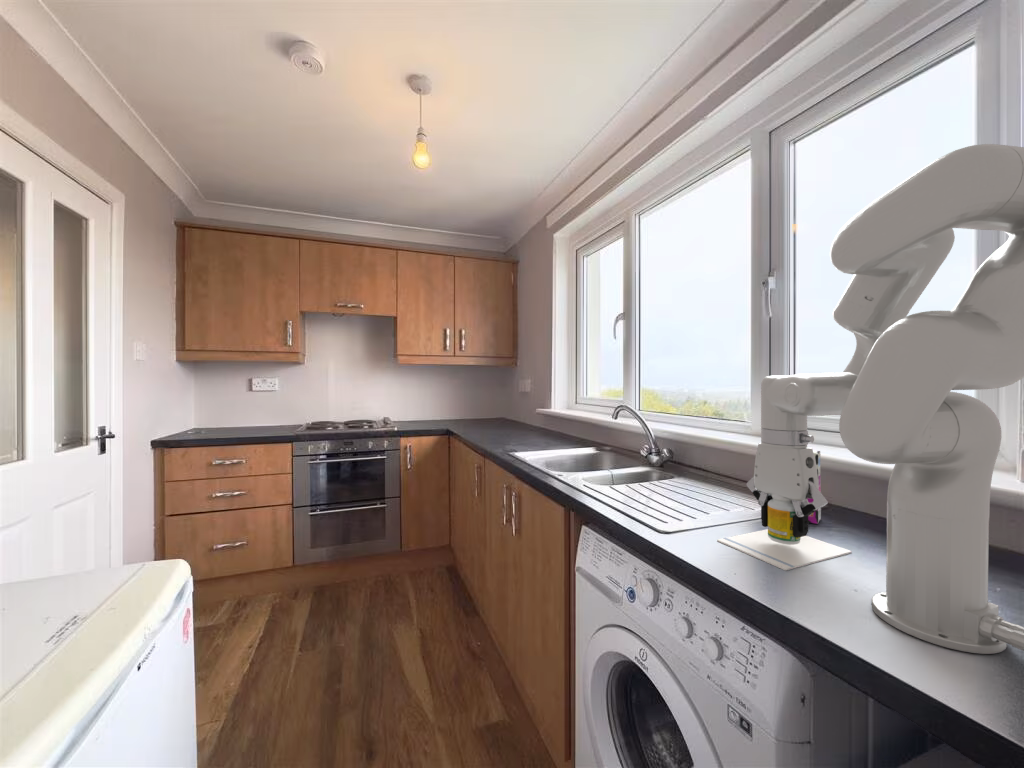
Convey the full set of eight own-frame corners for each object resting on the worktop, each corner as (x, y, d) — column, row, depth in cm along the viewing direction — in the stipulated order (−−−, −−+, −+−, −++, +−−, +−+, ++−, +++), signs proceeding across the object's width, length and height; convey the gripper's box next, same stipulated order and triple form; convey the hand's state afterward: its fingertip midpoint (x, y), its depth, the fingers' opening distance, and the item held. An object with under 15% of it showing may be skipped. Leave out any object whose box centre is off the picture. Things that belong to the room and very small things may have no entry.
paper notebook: (851, 552, 78) (851, 550, 78) (785, 570, 71) (785, 568, 71) (779, 528, 91) (779, 526, 91) (717, 541, 84) (717, 539, 84)
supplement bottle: (775, 532, 83) (775, 486, 83) (805, 541, 79) (805, 492, 79) (762, 538, 80) (762, 490, 80) (793, 547, 76) (793, 496, 76)
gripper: (845, 443, 73) (845, 543, 73) (755, 432, 89) (755, 515, 89) (819, 445, 70) (819, 550, 70) (731, 434, 86) (731, 519, 86)
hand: (783, 529), depth 80 cm, fingers closed on supplement bottle, 5 cm apart
